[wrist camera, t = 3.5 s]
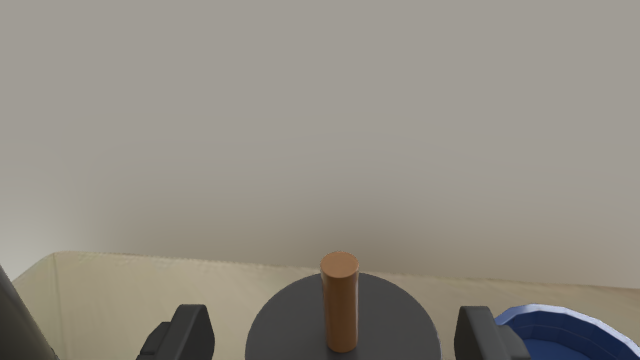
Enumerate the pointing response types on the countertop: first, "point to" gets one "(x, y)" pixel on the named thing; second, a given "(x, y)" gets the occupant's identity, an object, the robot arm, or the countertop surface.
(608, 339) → the pan
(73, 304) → the countertop surface
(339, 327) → the lid
